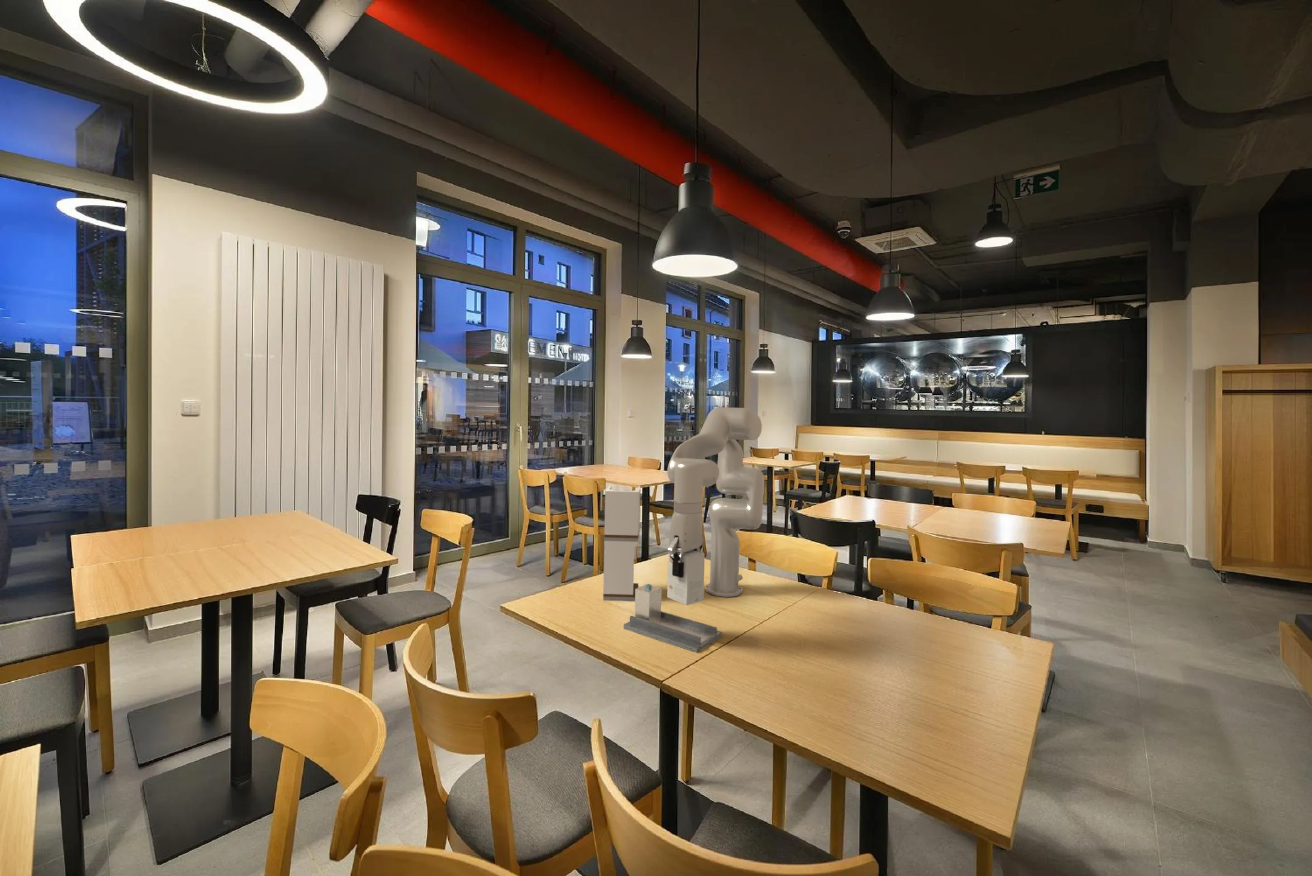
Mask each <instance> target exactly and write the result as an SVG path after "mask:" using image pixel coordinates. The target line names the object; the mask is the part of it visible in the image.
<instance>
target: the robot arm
mask: <svg viewBox="0 0 1312 876" xmlns="http://www.w3.org/2000/svg"><path fill="white" fill-rule="evenodd" d="M762 427H763V424H762V420H761V417H760V416H759V415H758V414H757V413H755V412H754V411H752V410H751V409H749V408H746V407H727V406H726V407H715V408H713V409H712V410H711V411H709V412H708V415H707V416H706V419H705V420H704V423H703V425H702V427H701V428H700V431H699V433H698V434H696V435H694V436H692V437H690V438H689V439H687V440H686V441H684V442H682V443H681V444H679V445H678V446H677V447H676V449H675V450H674V452H673V454H672V456H671V458H670V460H669V463H668V466H667V469H666V470H667V471H666V472H667V474H666V475H667V478H668V480H669V481H670V482H671V483H673V484H674V485H673V486H674V489H673V490H674V492H673V493H674V494H673V513H672V516H671V522H670V527H669V528H670V529H669V530H670V531H669V537H668V539H669V540H668V548H667V553H668V552H669V554H670V557H671V561H673V563H672V575H673V576H676V577H680V578H682V577H683V569H684V562H682V560H683V557H684V554H685V552H688V551H691V550H694V551H697V552H701V553H702V550H703V545H704V542H705V537H704V536H703V515H702V514H703V487H711V486H713V485H715V483H716V490H717V491H718V492H719V493H721V494H725V495H733V496H746V497H748V499H738V498H727V497H722V498H721V497H720V498H716V499H714V500H712V501H711V502H710V505H709V509H708V510H709V513H708V514H709V520H710V521H709V522H710V531H711V537H710V539H711V540H710V541H711V542H710V544H711V545H710V568H709V569H710V571H709V572H710V573H709V576H710V577H709V583H707V584H706V585H704V588H705V589H704V590H705V591H706V592H707V593H708V594H710V595H712V596H717V597H722V598H731V597H737V596H740V595H741V594H743V587H742V586H741V585H739V581H741V580H743V574H741V573H739V571H740V570H739V569H740V544H741V543H740V538H739V535H738V534H737V532H736V530H735V529H743V530H756V529H759V528H760V527H761V525H762V521H763V511H764V510H763V507H764V496H765V495H764V494H765V493H764V492H765V478H764V477H765V476H764V474H763V471H762V470H760V468H756V467H748V466H744V451H743V449H742V446H741V445H740V443H739V442H738V441H756V440H757V439H759V437H760V436H761V433H762V429H763V428H762ZM737 440H738V441H737ZM714 455H717V456H718V457H717V463H716V462H715V461H713V460H712V459H704V458H708V457H711V456H714ZM678 549H681V550H678ZM677 553H680V556H678V554H677Z"/></svg>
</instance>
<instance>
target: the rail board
mask: <svg viewBox="0 0 1312 876" xmlns="http://www.w3.org/2000/svg"><path fill="white" fill-rule="evenodd" d="M623 629H624V630H626V631H630V632H633V633H635V634H639V635H642V636H645V637H648V638H651V639H654V640H657V641H660V642H663V643H667V644H669V645H672V646H675V647H679V648H681V649H684V650H686V651H690V652H693V653H695V654H697V653H698V652H701V651H702V650H703V649H705V648H706V647H708V646H709V645H711V644H713V643H714V642H716V641H717V640H719V639H720V638H721V637H723V631H719V630H718V627H717V626H713V625H710V624H706V623H703V622H700V621H696V620H693V619H690V618H686V617H682V616H679V615H675V614H672V613H670V612H665V611H662V587H661V586H655V585H653V584H650V583H647V584H644V585H642V586H640V587H639V586H638V588H637V589H635V601H634V615H630V616H629V621H628V622H626V623H624V624H623Z"/></svg>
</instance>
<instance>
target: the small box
mask: <svg viewBox="0 0 1312 876" xmlns="http://www.w3.org/2000/svg"><path fill="white" fill-rule="evenodd" d="M678 550H681V549H680V548H678ZM667 553H668V555H667V557H668V558H667V559H668V561H667V593H666V594H667V595H666V597H667V598H668V599H671V600H673V601H676V602H677V603H680V604H682V605H684V606H690V605H693V604H697V603H700V602H703V601H704V597H705V596H704V595H705V594H704V593H705V591H704V590H705V589H704V588H705V557H706V556H705V553H704V552H702V551H701V552H697V551H694V550H691V551H688V552H685V554H684V557H683V560H682V562H684V569H683V577H682V578H680V577H676V576H673V575H672V563H673V561H671V557H670V554H669V552H668V551H667ZM677 554H678V556H680V553H677Z"/></svg>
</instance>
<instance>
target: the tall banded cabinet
mask: <svg viewBox="0 0 1312 876" xmlns="http://www.w3.org/2000/svg"><path fill="white" fill-rule="evenodd" d="M641 488H642V487H641V486H637V488H636V489H635V490H613V489H612V485H608V486H607V487H606V489H605V491H604V492H605V493H604V533H603V534H604V539H603V540H604V541H603V543H604V544H603V546H604V547H603V551H604V552H603V589H602V590H603V592H602V593H603V594H602V596H603V598H602V599H603V601H617V602H618V601H619V602H620V601H622V602H635V589H637V588H639V583H637V582H635V583H634V579H635V578H634V575H635V574H634V572H635V569H634V567H635V562H636V557H637V556H636V550H637V549H636V547H638V546H639V542H640V528H641V527H640V526H641V525H640V523H641V518H640V517H641Z"/></svg>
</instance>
